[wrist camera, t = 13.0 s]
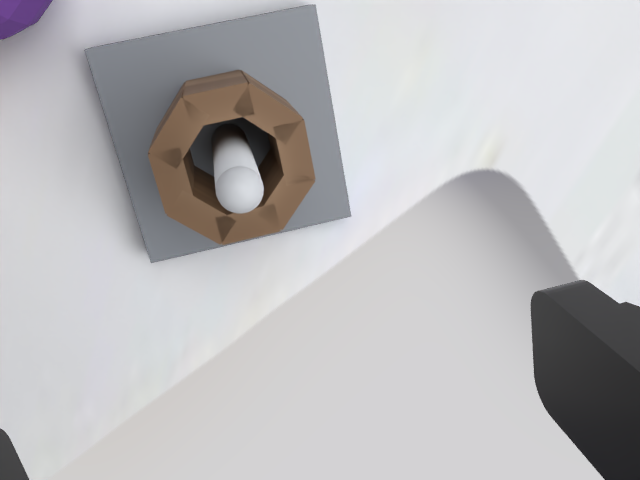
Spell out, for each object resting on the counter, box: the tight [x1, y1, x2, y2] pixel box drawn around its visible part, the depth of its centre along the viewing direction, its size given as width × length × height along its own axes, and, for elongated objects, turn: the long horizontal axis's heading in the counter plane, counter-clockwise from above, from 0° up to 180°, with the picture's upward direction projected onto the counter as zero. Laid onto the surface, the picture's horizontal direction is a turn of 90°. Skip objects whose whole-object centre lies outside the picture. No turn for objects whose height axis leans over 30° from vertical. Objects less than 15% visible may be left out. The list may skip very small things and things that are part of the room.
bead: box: [148, 70, 316, 245], centre depth 26 cm, size 6×6×5 cm
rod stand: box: [85, 5, 351, 263], centre depth 25 cm, size 10×10×11 cm
